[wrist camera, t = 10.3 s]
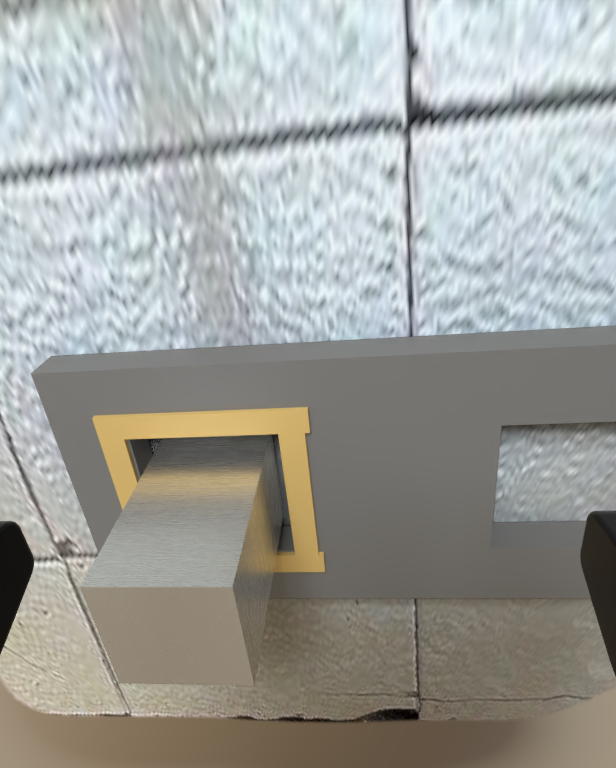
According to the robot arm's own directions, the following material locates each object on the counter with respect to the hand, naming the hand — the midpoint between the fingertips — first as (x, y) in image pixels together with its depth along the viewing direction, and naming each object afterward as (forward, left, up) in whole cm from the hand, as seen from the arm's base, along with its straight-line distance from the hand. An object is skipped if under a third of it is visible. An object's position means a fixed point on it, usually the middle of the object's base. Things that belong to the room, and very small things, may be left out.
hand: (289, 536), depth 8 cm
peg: (+5, +8, -12) cm, 15 cm away
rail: (-2, +8, -12) cm, 15 cm away
